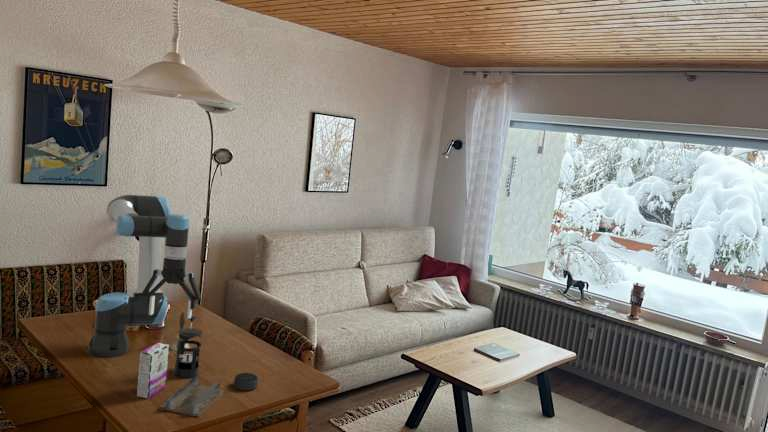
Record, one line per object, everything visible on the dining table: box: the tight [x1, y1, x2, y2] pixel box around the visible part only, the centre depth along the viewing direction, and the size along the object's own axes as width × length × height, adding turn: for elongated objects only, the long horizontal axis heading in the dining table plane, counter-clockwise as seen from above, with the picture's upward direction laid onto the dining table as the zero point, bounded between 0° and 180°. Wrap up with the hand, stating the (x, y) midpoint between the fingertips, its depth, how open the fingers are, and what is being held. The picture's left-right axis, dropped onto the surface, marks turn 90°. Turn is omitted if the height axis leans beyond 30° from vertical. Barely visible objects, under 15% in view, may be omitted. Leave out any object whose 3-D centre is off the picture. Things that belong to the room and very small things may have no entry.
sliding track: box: [159, 377, 225, 418], centre depth 206 cm, size 14×21×4 cm, turn 172°
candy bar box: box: [136, 342, 170, 400], centre depth 207 cm, size 11×5×16 cm, turn 168°
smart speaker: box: [233, 372, 259, 392], centre depth 223 cm, size 9×9×4 cm
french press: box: [172, 315, 204, 380], centre depth 226 cm, size 12×9×23 cm
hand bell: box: [169, 311, 191, 352], centre depth 251 cm, size 8×8×16 cm
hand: (170, 316), depth 210 cm, fingers open, 13 cm apart
